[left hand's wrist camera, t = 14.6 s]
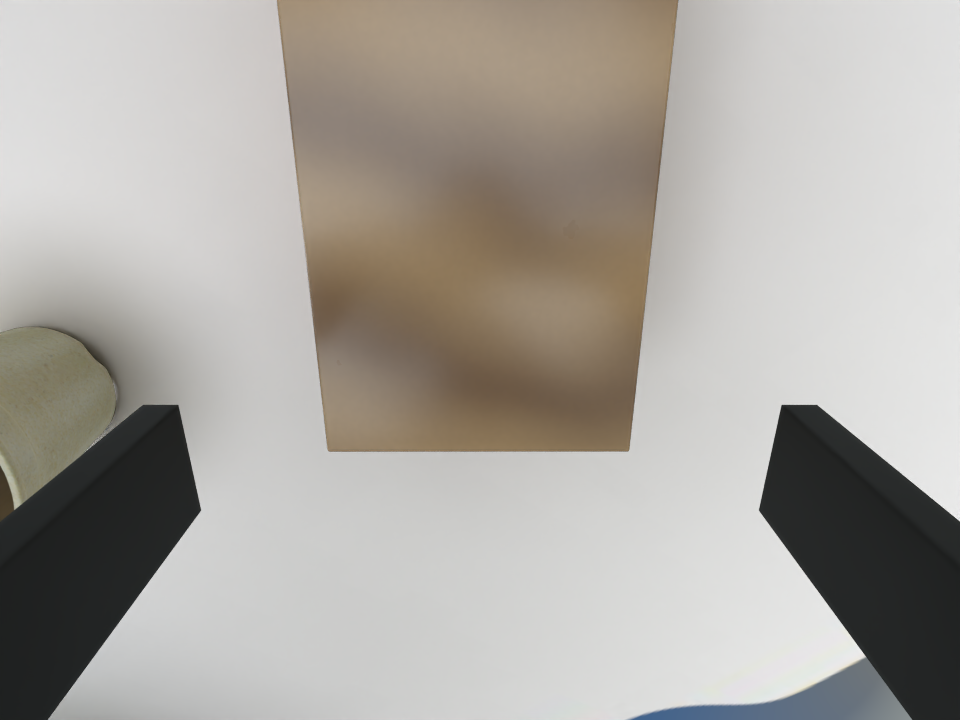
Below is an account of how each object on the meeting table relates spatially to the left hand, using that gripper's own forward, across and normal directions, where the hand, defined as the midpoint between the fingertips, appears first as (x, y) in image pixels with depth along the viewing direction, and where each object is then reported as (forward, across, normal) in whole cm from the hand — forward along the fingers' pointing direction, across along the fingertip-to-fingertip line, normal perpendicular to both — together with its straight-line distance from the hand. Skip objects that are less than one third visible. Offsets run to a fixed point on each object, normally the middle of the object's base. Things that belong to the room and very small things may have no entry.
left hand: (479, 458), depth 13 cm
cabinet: (+15, 0, -6) cm, 16 cm away
